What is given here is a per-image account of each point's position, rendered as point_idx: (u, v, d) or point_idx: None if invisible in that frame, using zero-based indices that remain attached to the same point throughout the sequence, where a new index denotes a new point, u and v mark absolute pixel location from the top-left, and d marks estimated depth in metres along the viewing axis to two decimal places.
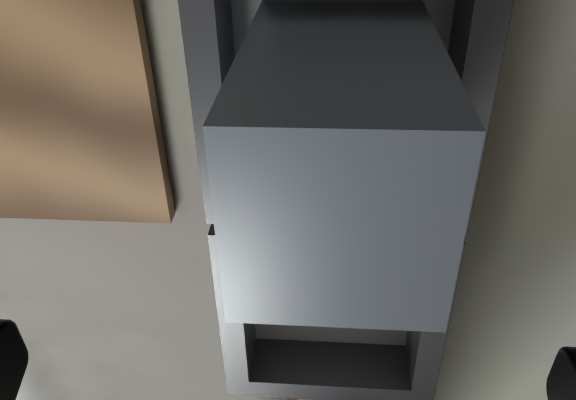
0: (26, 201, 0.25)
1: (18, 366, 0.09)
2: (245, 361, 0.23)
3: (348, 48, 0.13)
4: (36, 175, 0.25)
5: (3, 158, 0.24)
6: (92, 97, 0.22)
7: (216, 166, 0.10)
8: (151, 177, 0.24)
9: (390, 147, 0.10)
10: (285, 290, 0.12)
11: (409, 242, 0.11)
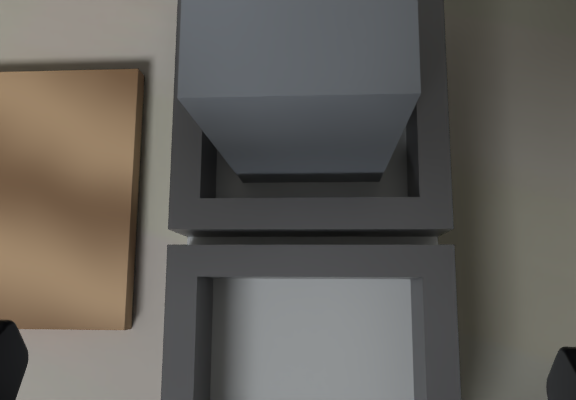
0: None
1: (18, 366, 0.09)
2: None
3: None
4: None
5: None
6: (77, 179, 0.23)
7: None
8: (115, 268, 0.22)
9: None
10: (245, 47, 0.12)
11: None
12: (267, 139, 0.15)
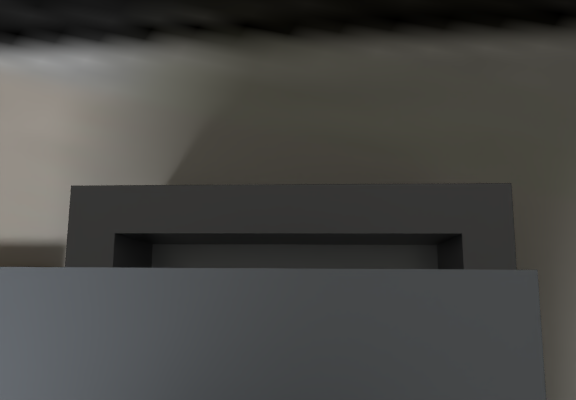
0: None
1: None
2: None
3: None
4: None
5: None
6: None
7: None
8: None
9: (332, 314, 0.04)
10: None
11: None
12: None
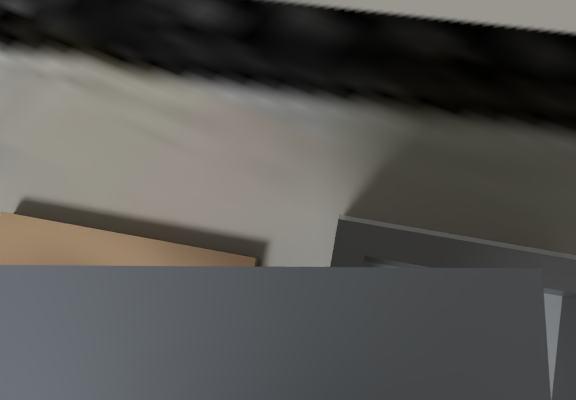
0: None
1: None
2: None
3: None
4: None
5: None
6: None
7: None
8: None
9: (338, 312, 0.04)
10: None
11: None
12: None
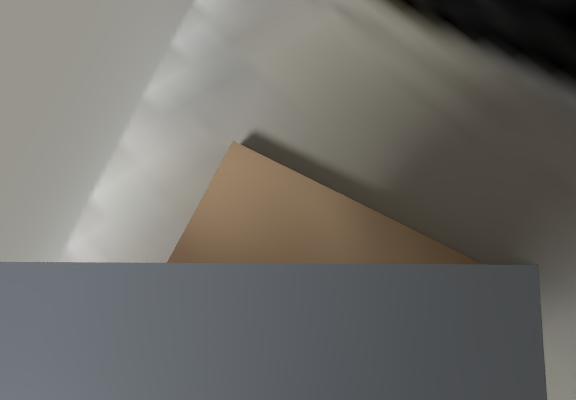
0: None
1: None
2: None
3: None
4: None
5: None
6: None
7: None
8: None
9: (333, 308, 0.04)
10: None
11: None
12: None
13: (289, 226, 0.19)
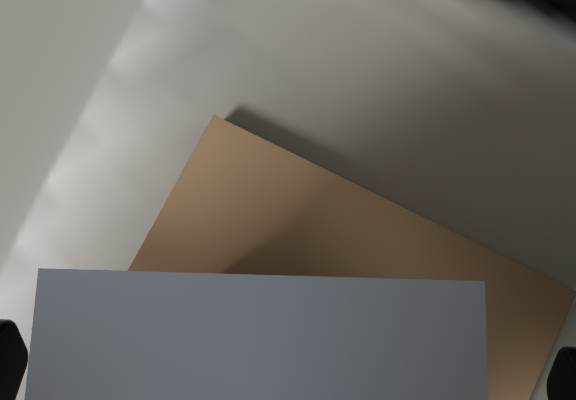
0: None
1: (18, 366, 0.09)
2: None
3: None
4: None
5: None
6: None
7: (46, 344, 0.06)
8: None
9: (335, 310, 0.06)
10: None
11: None
12: None
13: (280, 217, 0.15)
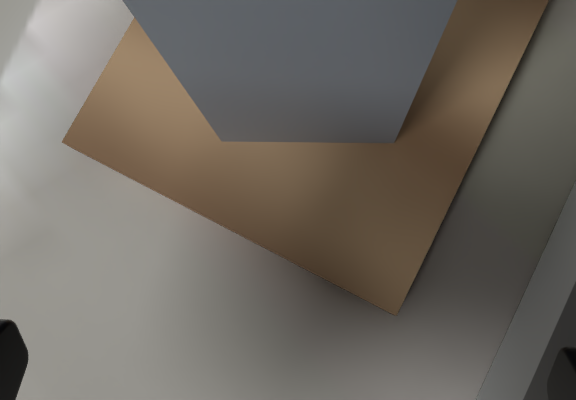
0: (201, 177, 0.16)
1: (18, 366, 0.09)
2: None
3: None
4: (251, 147, 0.16)
5: None
6: None
7: None
8: (418, 227, 0.15)
9: None
10: None
11: None
12: (245, 59, 0.10)
13: None
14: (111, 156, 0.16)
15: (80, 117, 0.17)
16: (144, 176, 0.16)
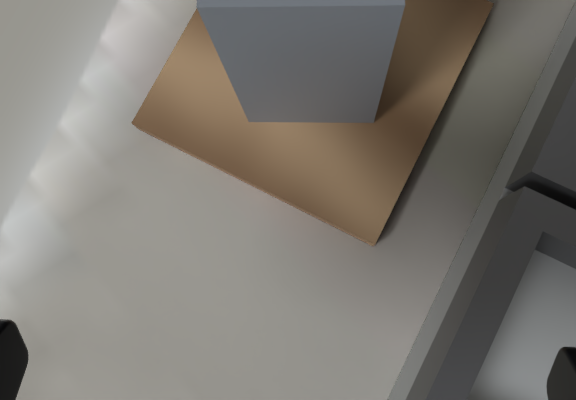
0: (234, 147, 0.22)
1: (18, 366, 0.09)
2: None
3: None
4: (270, 126, 0.22)
5: None
6: (389, 81, 0.22)
7: None
8: (390, 182, 0.21)
9: None
10: None
11: None
12: (272, 62, 0.16)
13: None
14: (168, 133, 0.22)
15: (145, 105, 0.23)
16: (192, 147, 0.22)
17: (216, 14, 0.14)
